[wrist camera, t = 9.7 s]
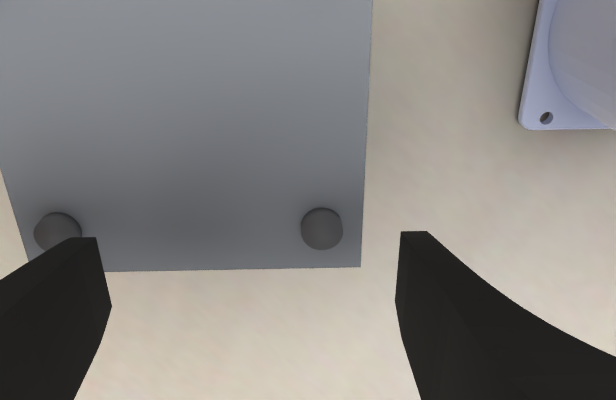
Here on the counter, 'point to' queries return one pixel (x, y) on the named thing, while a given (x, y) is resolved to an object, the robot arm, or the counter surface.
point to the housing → (188, 130)
